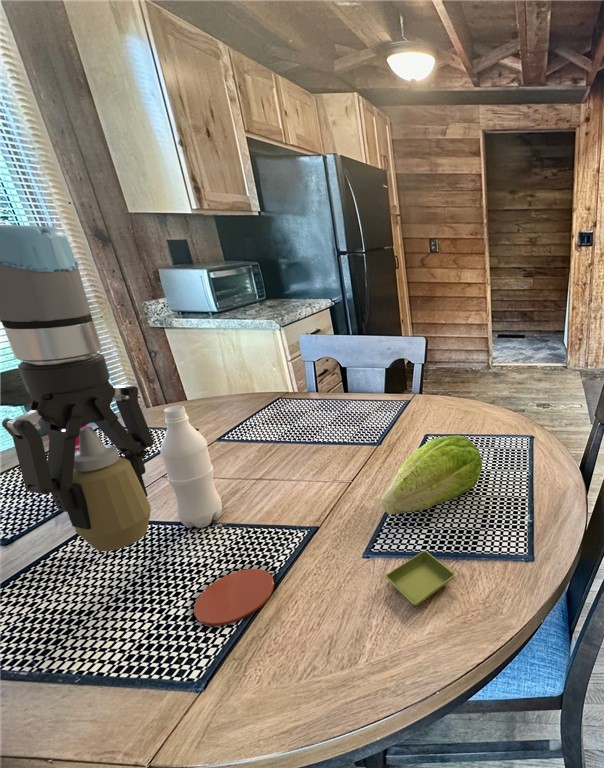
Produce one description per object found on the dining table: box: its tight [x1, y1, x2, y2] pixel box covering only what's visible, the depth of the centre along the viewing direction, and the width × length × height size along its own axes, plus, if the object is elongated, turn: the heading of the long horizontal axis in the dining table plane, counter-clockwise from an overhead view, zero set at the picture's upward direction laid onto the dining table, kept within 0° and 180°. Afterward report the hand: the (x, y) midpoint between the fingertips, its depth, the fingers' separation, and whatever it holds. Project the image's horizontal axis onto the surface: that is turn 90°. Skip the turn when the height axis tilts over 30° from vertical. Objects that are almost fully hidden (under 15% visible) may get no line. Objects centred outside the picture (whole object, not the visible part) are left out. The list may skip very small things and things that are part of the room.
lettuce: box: [380, 434, 483, 516], centre depth 93 cm, size 14×24×15 cm
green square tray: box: [384, 550, 456, 607], centre depth 71 cm, size 9×9×2 cm
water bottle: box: [160, 405, 223, 529], centre depth 81 cm, size 7×7×25 cm
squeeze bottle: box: [72, 426, 152, 553], centre depth 58 cm, size 8×8×18 cm
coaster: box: [193, 568, 275, 627], centre depth 68 cm, size 11×11×1 cm
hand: (112, 510), depth 60 cm, fingers closed on squeeze bottle, 6 cm apart
